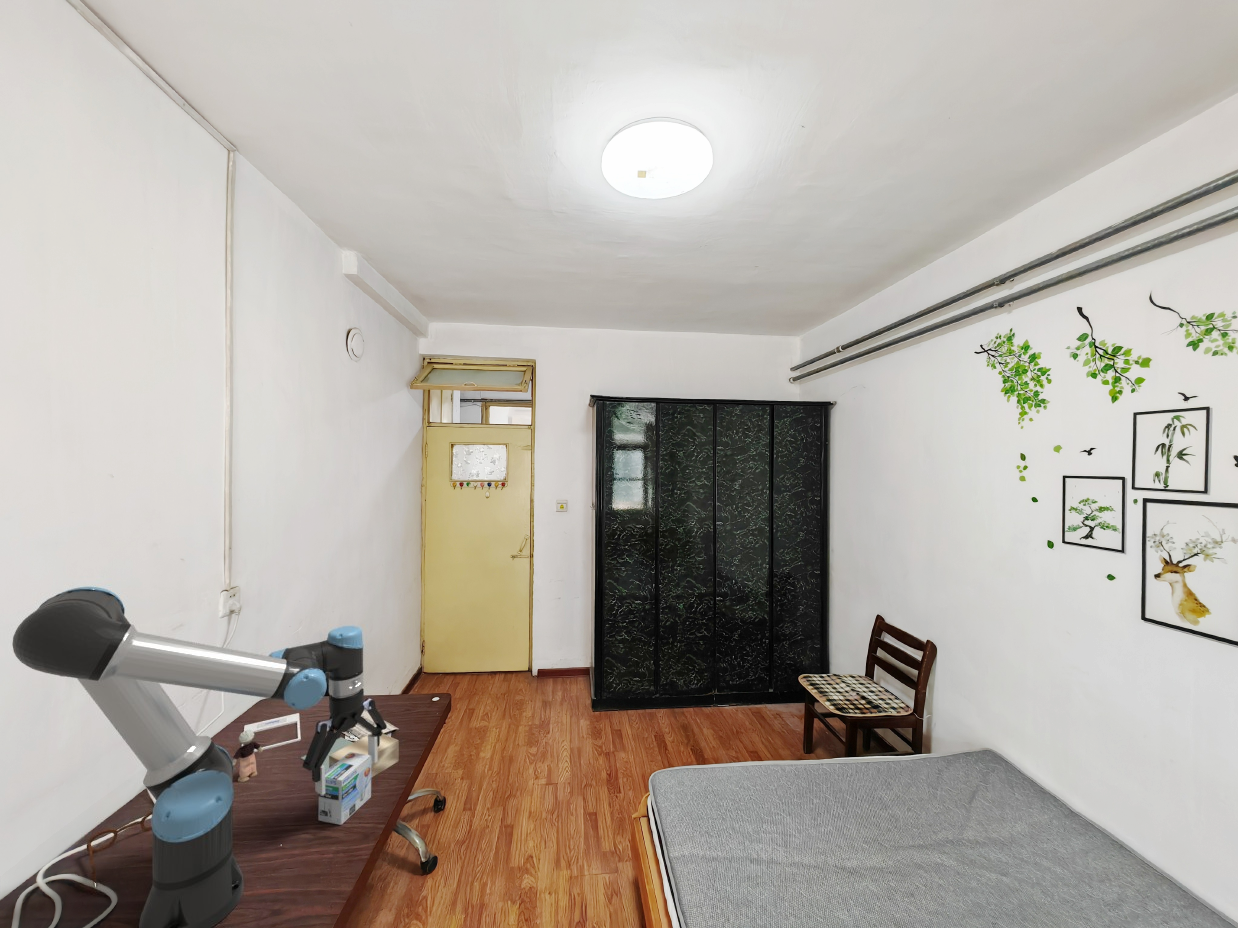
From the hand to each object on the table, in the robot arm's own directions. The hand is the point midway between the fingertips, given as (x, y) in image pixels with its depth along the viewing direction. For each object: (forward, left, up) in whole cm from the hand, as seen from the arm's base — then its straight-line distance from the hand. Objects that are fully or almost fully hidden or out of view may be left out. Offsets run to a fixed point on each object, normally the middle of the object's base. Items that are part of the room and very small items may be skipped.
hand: (347, 775), depth 123 cm
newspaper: (+25, +30, -9) cm, 40 cm away
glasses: (-31, +27, -9) cm, 42 cm away
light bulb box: (0, 0, -8) cm, 8 cm away
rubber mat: (+12, +23, -8) cm, 27 cm away
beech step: (+12, +10, -8) cm, 17 cm away
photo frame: (+9, +51, -9) cm, 53 cm away
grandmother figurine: (-6, +34, -8) cm, 36 cm away
